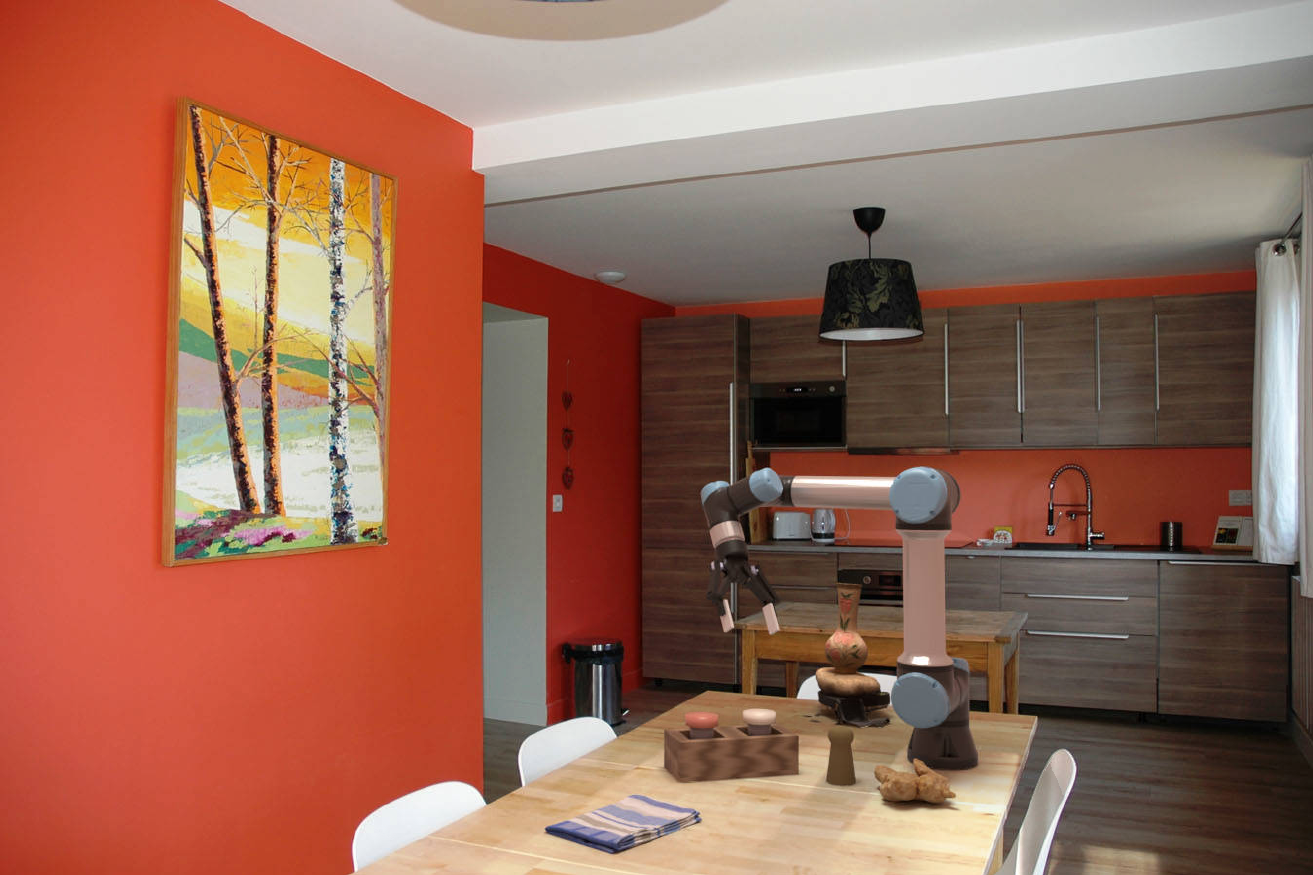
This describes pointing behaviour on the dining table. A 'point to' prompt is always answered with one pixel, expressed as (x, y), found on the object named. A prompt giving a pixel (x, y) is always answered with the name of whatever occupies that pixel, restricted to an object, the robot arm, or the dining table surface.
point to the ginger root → (913, 784)
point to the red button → (701, 724)
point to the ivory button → (759, 721)
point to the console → (731, 754)
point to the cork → (840, 757)
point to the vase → (849, 668)
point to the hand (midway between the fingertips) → (752, 631)
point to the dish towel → (625, 823)
